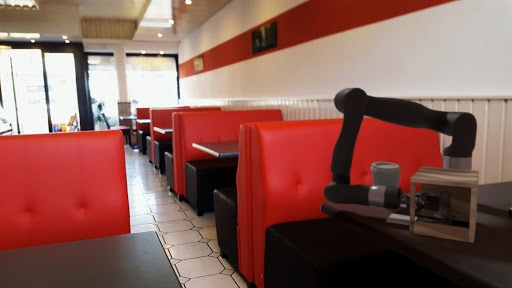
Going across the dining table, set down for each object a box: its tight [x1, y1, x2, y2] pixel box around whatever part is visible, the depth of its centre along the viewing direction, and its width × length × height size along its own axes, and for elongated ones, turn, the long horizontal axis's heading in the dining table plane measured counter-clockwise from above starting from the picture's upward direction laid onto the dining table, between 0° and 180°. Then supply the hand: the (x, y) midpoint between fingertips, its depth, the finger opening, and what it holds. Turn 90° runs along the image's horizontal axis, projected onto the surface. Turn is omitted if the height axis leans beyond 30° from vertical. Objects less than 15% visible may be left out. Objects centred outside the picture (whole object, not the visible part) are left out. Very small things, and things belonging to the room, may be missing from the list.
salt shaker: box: [433, 189, 455, 225], centre depth 111 cm, size 6×6×12 cm
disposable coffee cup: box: [370, 161, 402, 187], centre depth 136 cm, size 11×11×15 cm
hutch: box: [408, 166, 480, 244], centre depth 111 cm, size 19×16×16 cm
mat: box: [386, 213, 419, 226], centre depth 119 cm, size 8×8×1 cm
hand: (441, 203), depth 112 cm, fingers open, 8 cm apart
